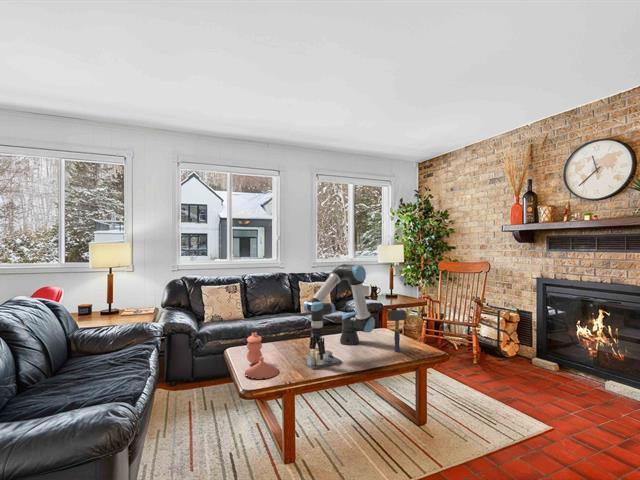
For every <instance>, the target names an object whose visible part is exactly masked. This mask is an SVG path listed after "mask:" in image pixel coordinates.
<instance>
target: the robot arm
mask: <svg viewBox="0 0 640 480" xmlns="http://www.w3.org/2000/svg"><path fill="white" fill-rule="evenodd" d="M366 278H367V272H366V269H365V268H364V266H362V265H360V264H347V263H346V264H340V265H338V266H337V267H335V268H334V269H333V270H332V271H331V272H330V274H328V277H327V279H326V280H325V282H323V284H322V285H321V286H320V288H319V289H318V290H317V292H316V293H315V294H314V295H313V296H312V297H311V298H310V300H306V301H304V302H303V305H302V306H303V310H304V311H305V312H307V313H310V314H311V315H310V316H311V319H310V321H311V322H310V323H311V324H310V325H311V328H310V329H311V330H310V331H311V332H310V334H309V335H310V336H309V349H310V350H311V349H315V348H318V349H319V365H322V364H323V354H325V351H326V347H325V337H322V334H323V333H324V328H323V327H324V317H325V316H328V315H329V316H330V315H332V314H334V313H335V312H336V306H335V304H334V303H332V302H324V301H325V299H327V298H328V296H329V294H331V292H332V291H333V289H334V288H335V287H336V285H337V284H339V283H341V282H342V281H347V282H348V285H349V286H350V287H351V293H352V297H353V303H354V307H355V311H353V312H352V311H351V312H345V313H343V314H342V315H341V316H342V317H341V335H340V338H339V343H340V344H342V345H347V346H353V345H358V344H360V339H359V335H358V332H364V333H371V332H373V330H374V328H375V326H376V325H375V324H376V320H375V318H374V317H373V316H372V315H371V312H369V310H368V305H367V301H366V296H365V290H364V285H363V283H365V280H366Z"/></svg>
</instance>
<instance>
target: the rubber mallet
mask: <svg viewBox="0 0 640 480" xmlns="http://www.w3.org/2000/svg"><path fill="white" fill-rule="evenodd" d="M407 316H408V315H407V311H406V310H403V309H394V310H388V312H387V319H388V321H390V322H394V323H395V324H394V328H395V329H394V336H393V337H394V339H393V340H394V349H393V351H394V353H399V352H401V349H400V340H401V336H400V331H399V330H400V323H399V321H405V320H406V319H407Z"/></svg>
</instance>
